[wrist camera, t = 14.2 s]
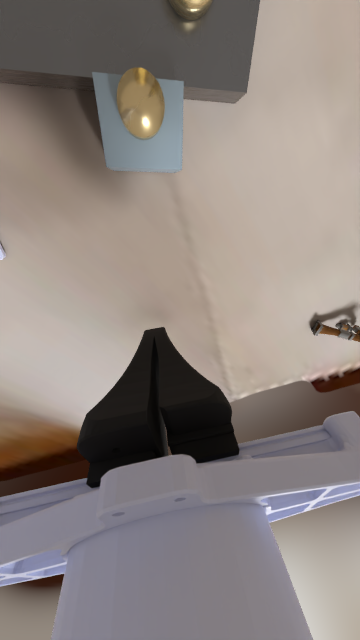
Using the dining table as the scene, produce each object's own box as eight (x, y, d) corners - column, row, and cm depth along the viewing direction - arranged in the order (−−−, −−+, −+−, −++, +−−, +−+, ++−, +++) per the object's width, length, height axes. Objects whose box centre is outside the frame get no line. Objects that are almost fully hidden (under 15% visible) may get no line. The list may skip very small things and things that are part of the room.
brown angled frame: (359, 333, 31) (375, 351, 27) (306, 320, 32) (314, 336, 28) (366, 324, 30) (384, 341, 26) (311, 311, 31) (321, 326, 27)
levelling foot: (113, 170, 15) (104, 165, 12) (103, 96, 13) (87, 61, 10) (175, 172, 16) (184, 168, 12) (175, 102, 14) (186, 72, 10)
